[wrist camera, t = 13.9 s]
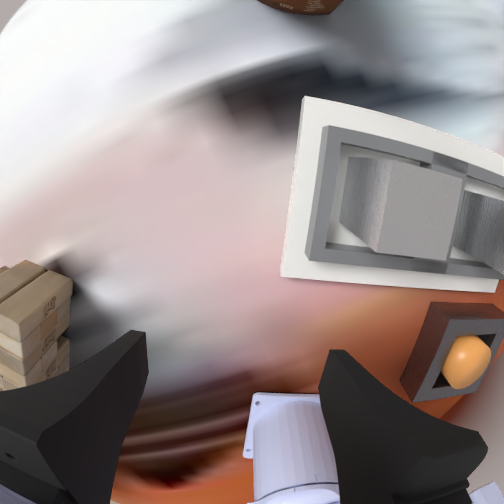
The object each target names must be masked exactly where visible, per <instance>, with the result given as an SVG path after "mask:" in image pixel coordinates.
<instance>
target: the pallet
mask: <svg viewBox="0 0 504 504" xmlns="http://www.w3.org/2000/svg"><path fill="white" fill-rule="evenodd" d="M348 156H349V157H364V158H377V159H389V160H395V161H399V162H403V163H407V164H411V165H415V166H419V167H423V168H426V169H430V170H434V171H437V172H441V173H444V174H448V175H451V176H454V177H458V178H461V179H463V180H462V186H461V192H460V198H459V204H458V209H457V214H456V219H455V224H454V228H453V233H452V237H451V241H450V246H449V250H448V253H447V257H446V261H443V260H435V259H427V258H419V257H411V256H402V255H394V254H386V253H377V252H375V251H374V250H372V249H371V248H370V247H369V246H368V245H366V244H365V243H364V242H363V241H362V240H360V239H359V238H358V237H357V236H356V235H354V234H353V233H352V232H351V231H349V230H348V229H347V228H346V227H344V226H343V225H342V224H341V223H339V216H340V210H341V204H342V198H343V192H344V185H345V178H346V171H347V164H348ZM464 190H466V191H470V192H474V193H478V194H481V195H485V196H489V197H492V198H496V199H499V200H502V201H504V157H503V156H501V155H499V154H497V153H494V152H492V151H490V150H488V149H485V148H483V147H481V146H478V145H476V144H473V143H471V142H468V141H466V140H463V139H461V138H458V137H456V136H453V135H450V134H448V133H445V132H442V131H439V130H436V129H433V128H431V127H428V126H425V125H421V124H418V123H415V122H412V121H409V120H405V119H402V118H399V117H395V116H392V115H388V114H384V113H381V112H377V111H373V110H369V109H365V108H361V107H357V106H352V105H348V104H343V103H339V102H334V101H329V100H324V99H319V98H313V97H307V96H305V97H304V98H303V99H302V106H301V115H300V123H299V132H298V140H297V148H296V156H295V164H294V172H293V180H292V187H291V195H290V202H289V209H288V216H287V224H286V231H285V237H284V244H283V251H282V258H281V265H280V274H281V277H292V278H303V279H314V280H325V281H337V282H348V283H361V284H373V285H386V286H399V287H413V288H427V289H442V290H457V291H474V292H491V293H495V290H496V287H497V284H498V281H499V280H504V275H503V274H502V273H500V272H498V271H497V270H495V269H493V268H492V267H490V266H488V265H487V264H485V263H483V262H482V261H480V260H478V259H476V258H475V257H473V256H471V255H469V254H468V253H466V252H464V251H462V250H461V249H459V248H457V247H455V246H453V243H454V239H455V235H456V230H457V226H458V221H459V216H460V211H461V206H462V201H463V195H464Z"/></svg>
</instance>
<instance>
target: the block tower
mask: <svg viewBox="0 0 504 504" xmlns="http://www.w3.org/2000/svg"><path fill="white" fill-rule="evenodd" d="M72 290H73V280H72V279H70V278H68V277H65V276H63V275H60V274H58V273H56V272H53V271H51V270H49V271H46V269H45V268H44V267H41V266H39V265H37V264H34V263H32V262H30V261H27V260H24V261H22V262H20V263H19V264H17V265H15V266H13V267H12V268H8V267H6V266H3V267H1V268H0V391H5V390H11V389H17V388H21V387H25V386H29V385H32V384H36V383H39V382H42V381H44V380H47V379H50V378H52V377H55V376H58V375H60V374H62V373H64V372H66V371H68V370H69V364H70V341H69V339H67V338H65V337H63V336H61V334H62V333H63V332H64V331H65V330H66V329H67V328H68V326H69V325H70V306H71V295H72Z"/></svg>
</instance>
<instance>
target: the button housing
mask: <svg viewBox="0 0 504 504" xmlns="http://www.w3.org/2000/svg"><path fill="white" fill-rule="evenodd" d="M468 335H477V336H478V337H479V338H480V339H481V340H482V341H483V342H484V343H485V344H486V345H487V346H488V347H489V348H490V350H491V358H490V362H489V364H488V366H487V368H486V370H485V371H484V373H483V374H482V375H481V376H480V377H479V378H478V379H477V380H476V381H475V382H474V383H472V384H471V385H469V386H468V387H465V388H463V389H454V388H453V387H452V386H451V385H450V383H449V382H448V381H447V379H446V378H445V377H444V375H443V374H442V373H441V369H442V367H443V365H444V363H445V361H446V359H447V356H448V354H449V352H450V350H451V347H452V345H453V343H454V340H455V338H456V336H468ZM503 337H504V312H503V311H501V310H500V309H499V308H497V307H496V306H495V305H494V304H479V303H447V302H431V303H430V306H429V309H428V312H427V315H426V318H425V320H424V323H423V326H422V329H421V331H420V334H419V337H418V339H417V342H416V344H415V347H414V349H413V352H412V354H411V356H410V359H409V361H408V364H407V366H406V368H405V370H404V373H403V375H402V377H401V379H400V382H401V384H402V386H403V388H404V389H405V391H406V393H407V394H408V396H409V398H410V400H411V401H412V403H414V402H421V401H428V400H435V399H441V398H447V397H453V396H458V395H463V394H468V393H473V392H476V390H477V389H478V387H479V385H480V383H481V381H482V380H483V378H484V376H485V374H486V372H487V370H488V369H489V367H490V365H491V363H492V361H493V359H494V357H495V355H496V352H497V350H498V348H499V346H500V344H501V342H502V340H503Z"/></svg>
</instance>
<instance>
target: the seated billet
mask: <svg viewBox="0 0 504 504" xmlns="http://www.w3.org/2000/svg"><path fill="white" fill-rule="evenodd" d="M453 246H455V247H457V248H459V249H461V250H462V251H464V252H466V253H468V254H469V255H471V256H473V257H475V258H476V259H478V260H480V261H482V262H483V263H485V264H487V265H488V266H490V267H492V268H493V269H495V270H497V271H498V272H500V273H502V274H503V275H504V201H502V200H499V199H496V198H492V197H489V196H485V195H481V194H478V193H474V192H470V191H466V190H464V195H463V201H462V206H461V211H460V216H459V221H458V226H457V230H456V235H455V239H454V243H453Z"/></svg>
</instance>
